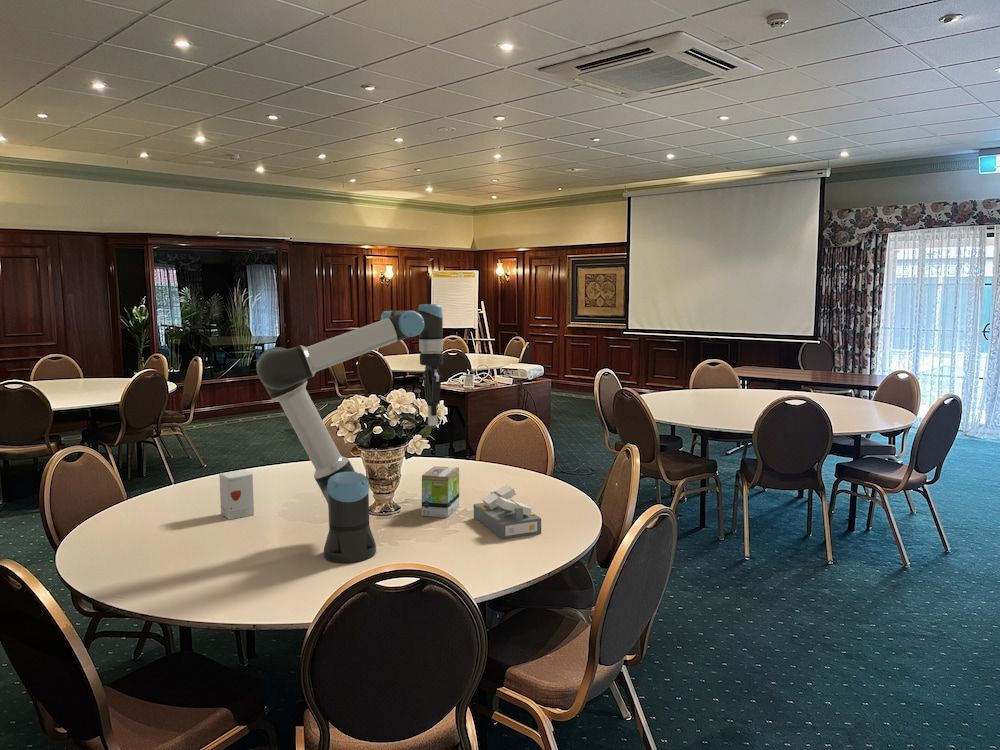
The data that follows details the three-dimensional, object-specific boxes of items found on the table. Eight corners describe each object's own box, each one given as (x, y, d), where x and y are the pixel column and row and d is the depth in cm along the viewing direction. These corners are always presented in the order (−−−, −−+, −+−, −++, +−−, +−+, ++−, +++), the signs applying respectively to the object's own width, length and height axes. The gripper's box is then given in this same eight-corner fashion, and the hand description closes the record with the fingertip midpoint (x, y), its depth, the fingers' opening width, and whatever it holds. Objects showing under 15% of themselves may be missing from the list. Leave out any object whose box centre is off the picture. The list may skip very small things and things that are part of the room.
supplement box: (228, 520, 239) (226, 477, 238) (220, 514, 246) (218, 473, 244) (255, 515, 245) (253, 473, 243) (246, 509, 252) (244, 469, 250)
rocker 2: (502, 508, 219) (505, 500, 219) (495, 503, 225) (497, 496, 225) (529, 516, 223) (531, 508, 223) (521, 511, 228) (524, 503, 229)
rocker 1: (491, 509, 231) (488, 503, 230) (484, 505, 236) (481, 499, 236) (516, 494, 234) (513, 488, 233) (509, 490, 239) (506, 484, 239)
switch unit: (501, 539, 216) (501, 512, 215) (473, 518, 238) (473, 493, 238) (541, 533, 222) (541, 506, 221) (511, 513, 244) (510, 488, 243)
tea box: (449, 518, 239) (448, 476, 238) (421, 516, 241) (420, 475, 240) (460, 505, 254) (459, 466, 252) (433, 504, 256) (433, 465, 254)
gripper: (449, 353, 218) (450, 427, 220) (436, 350, 230) (437, 421, 232) (426, 354, 215) (427, 429, 217) (414, 351, 227) (416, 423, 229)
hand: (432, 425), depth 224 cm, fingers closed
